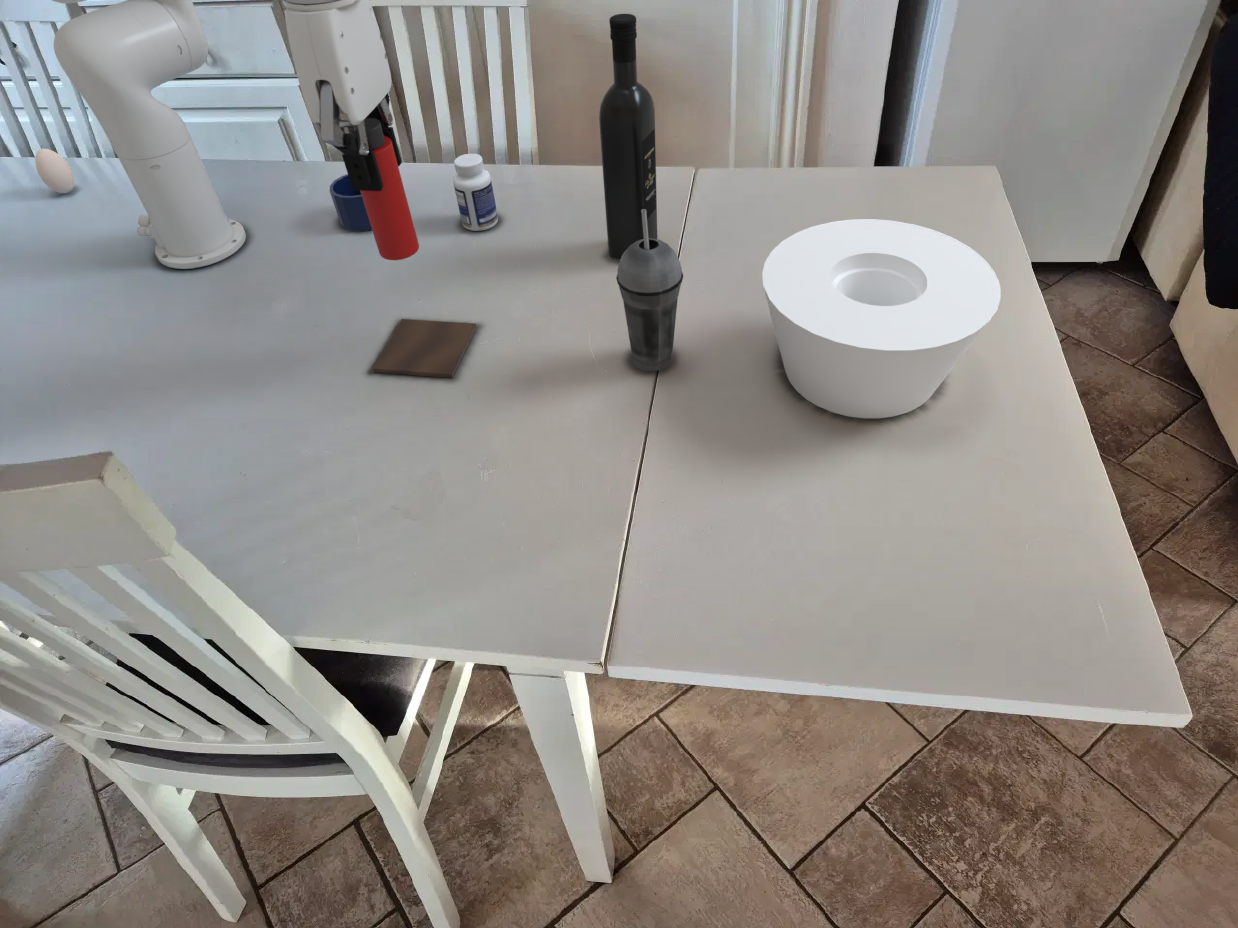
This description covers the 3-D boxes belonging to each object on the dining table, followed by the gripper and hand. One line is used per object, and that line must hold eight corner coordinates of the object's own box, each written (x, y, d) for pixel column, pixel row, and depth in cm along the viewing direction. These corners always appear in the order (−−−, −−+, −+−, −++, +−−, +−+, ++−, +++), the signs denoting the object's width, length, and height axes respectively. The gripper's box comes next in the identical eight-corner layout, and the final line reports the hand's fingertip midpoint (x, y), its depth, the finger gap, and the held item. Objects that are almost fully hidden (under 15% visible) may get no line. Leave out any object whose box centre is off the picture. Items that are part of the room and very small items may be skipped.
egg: (86, 191, 135) (62, 148, 129) (58, 202, 132) (32, 159, 127) (75, 182, 137) (51, 140, 132) (47, 193, 135) (21, 150, 130)
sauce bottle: (373, 259, 89) (333, 134, 79) (388, 238, 92) (351, 114, 82) (411, 261, 88) (376, 135, 78) (424, 240, 91) (392, 115, 81)
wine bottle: (660, 245, 114) (655, 11, 92) (643, 266, 110) (635, 28, 89) (623, 238, 116) (610, 7, 94) (606, 258, 112) (588, 23, 90)
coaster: (373, 372, 98) (372, 368, 97) (402, 322, 104) (401, 318, 104) (452, 378, 96) (451, 374, 96) (477, 327, 103) (476, 323, 102)
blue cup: (332, 230, 121) (320, 196, 117) (353, 203, 127) (342, 170, 123) (382, 232, 120) (372, 198, 116) (401, 205, 126) (392, 172, 122)
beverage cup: (690, 345, 98) (691, 191, 83) (673, 384, 93) (671, 227, 79) (632, 336, 100) (624, 183, 85) (613, 373, 95) (601, 218, 81)
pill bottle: (501, 213, 122) (491, 150, 115) (494, 232, 119) (482, 168, 111) (467, 213, 123) (454, 151, 116) (458, 232, 119) (444, 168, 112)
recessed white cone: (961, 461, 82) (994, 370, 74) (731, 415, 89) (737, 326, 80) (977, 324, 98) (1006, 235, 89) (779, 293, 104) (788, 207, 96)
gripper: (322, -48, 77) (374, 140, 90) (235, 12, 66) (309, 217, 79) (396, -50, 76) (438, 141, 89) (320, 12, 64) (382, 220, 78)
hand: (377, 175), depth 84 cm, fingers closed on sauce bottle, 4 cm apart
